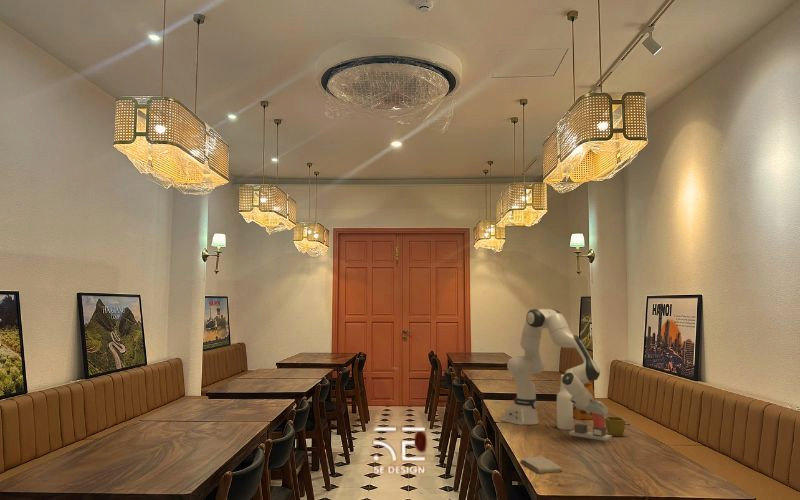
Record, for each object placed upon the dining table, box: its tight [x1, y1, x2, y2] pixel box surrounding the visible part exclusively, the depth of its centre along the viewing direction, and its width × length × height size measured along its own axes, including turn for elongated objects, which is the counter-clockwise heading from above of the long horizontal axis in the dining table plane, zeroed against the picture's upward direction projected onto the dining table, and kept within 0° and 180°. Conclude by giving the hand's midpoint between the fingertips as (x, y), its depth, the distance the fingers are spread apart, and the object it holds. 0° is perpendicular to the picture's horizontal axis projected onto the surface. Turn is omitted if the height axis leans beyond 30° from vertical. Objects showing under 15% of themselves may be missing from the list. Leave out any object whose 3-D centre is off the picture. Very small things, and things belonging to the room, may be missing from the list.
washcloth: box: [519, 455, 563, 474], centre depth 242 cm, size 12×18×3 cm, turn 16°
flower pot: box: [605, 416, 626, 437], centre depth 302 cm, size 9×9×9 cm
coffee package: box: [573, 382, 595, 421], centre depth 347 cm, size 10×12×22 cm
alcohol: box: [556, 374, 574, 431], centre depth 318 cm, size 9×9×30 cm
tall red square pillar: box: [592, 413, 606, 429], centre depth 296 cm, size 4×4×8 cm
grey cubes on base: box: [568, 422, 613, 442], centre depth 298 cm, size 20×8×6 cm, turn 51°
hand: (598, 416), depth 296 cm, fingers open, 8 cm apart
